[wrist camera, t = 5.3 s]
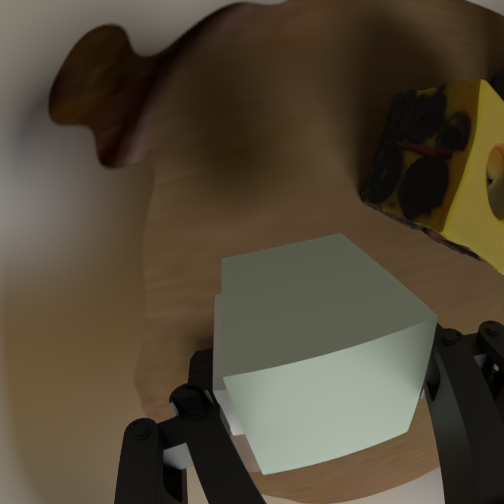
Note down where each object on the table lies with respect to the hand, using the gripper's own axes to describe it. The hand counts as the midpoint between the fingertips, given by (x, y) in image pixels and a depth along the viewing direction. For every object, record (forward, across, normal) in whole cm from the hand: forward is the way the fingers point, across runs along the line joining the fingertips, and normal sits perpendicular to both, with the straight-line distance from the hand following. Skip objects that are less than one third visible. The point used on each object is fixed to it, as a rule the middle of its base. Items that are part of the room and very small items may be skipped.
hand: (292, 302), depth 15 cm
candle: (+8, -14, -4) cm, 17 cm away
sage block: (0, 0, 0) cm, 0 cm away
